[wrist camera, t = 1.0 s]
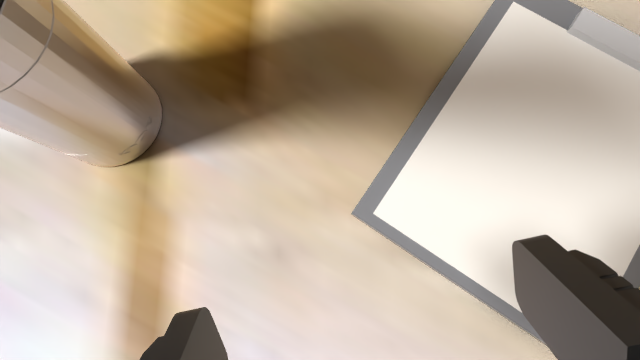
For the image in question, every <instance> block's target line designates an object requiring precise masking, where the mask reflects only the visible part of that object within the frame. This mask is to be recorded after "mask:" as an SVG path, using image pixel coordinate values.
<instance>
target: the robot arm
mask: <svg viewBox="0 0 640 360" xmlns="http://www.w3.org/2000/svg"><path fill="white" fill-rule="evenodd" d="M161 120H162V107H161V103H160V100H159V97H158V95H157V93H156V92H155V90H154V89H153V88H152V87H151V86H150V84H149V83H148V82H147V81H146V80H145V79H144V78H142V77H141V76H140V75H139V74H138V73H137V72H136V71H135V70H134V69H133V68H132V67H131V66H130V65H129V64H128V63H127V62H126V61H125V60H124V59H123V58H122V57H121V56H120V55H119V54H118V53H117V52H116V51H115V50H114V49H113V48H112V47H111V46H110V45H109V44H108V43H107V42H106V41H105V40H104V39H103V38H102V37H101V36H100V35H98V34H97V33H96V32H95V31H94V30H93V29H92V28H91V27H90V26H89V25H88V24H87V23H86V22H85V21H84V20H83V19H82V18H81V17H80V16H79V15H78V14H77V13H76V12H75V11H74V10H73V9H72V8H71V7H70V6H69V5H68V4H67V3H66V2H64V1H63V0H0V128H2V129H5V130H7V131H10V132H12V133H15V134H17V135H20V136H22V137H25V138H27V139H30V140H32V141H35V142H37V143H39V144H42V145H44V146H47V147H49V148H52V149H54V150H57V151H59V152H61V153H64V154H66V155H69V156H71V157H74V158H76V159H79V160H81V161H84V162H86V163H89V164H91V165H95V166H100V167H114V166H118V165H122V164H125V163H128V162H130V161H132V160H134V159H136V158H137V157H138V156H140V155H141V154H143V153H144V152H145V151H146V150H147V149H148V148H149V147H150V145H151V144H152V142H153V141H154V139H155V138H156V136H157V134H158V131H159V129H160V126H161ZM512 258H513V271H514V285H515V294H516V299H517V302H518V304H519V307H520V309H521V311H522V313H523V315H524V316H525V318H526V319H527V320H528V322H529V323H530V324H531V325H532V327H533V328H534V329H535V331H536V332H537V333H538V334H539V336H540V337H541V338H542V340H543V341H544V342H545V344H546V345H547V346H548V347H549V349H550V350H551V351H552V353H553V354H554V355H555V356H556V358H557V359H558V360H640V290H639V289H638V288H634V287H633V284H631V283H630V282H629V281H627V280H626V279H625V278H623V277H622V276H618V274H617V272H615V271H614V270H613V269H612V268H610V267H609V266H608V265H606V264H605V263H604V262H602V261H601V260H600V259H598V258H595V257H593V256H590V255H588V254H585V253H583V252H581V251H578V250H576V249H575V250H570V251H567V250H566V249H564V248H563V247H562V246H561V245H560V244H558V243H557V242H556V241H555V240H554V239H552V238H551V237H550V236H548V235H540V236H535V237H531V238H526V239H521V240H517V241H514V242H513V244H512ZM140 360H228V357H227V352H226V350H225V347H224V345H223V342H222V340H221V337H220V335H219V333H218V330H217V328H216V325H215V323H214V320H213V318H212V316H211V313H210V311H209V310H208V309H207V308H206V307H203V308H198V309H193V310H189V311H184V312H180V313H176V314H175V315H174V317H173V319H172V321H171V323H170V325H169V327H168V329H167V331H166V333H165V335H164V336H162V337H158V338H157V339H156V340H155V341H154V342H153V344H152V345H151V346H150V347H149V348H148V349H147V350H146V351H145V352H144V353H143V354H142V356H141V358H140Z"/></svg>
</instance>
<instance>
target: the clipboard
mask: <svg viewBox="0 0 640 360" xmlns="http://www.w3.org/2000/svg"><path fill="white" fill-rule="evenodd" d="M351 215H353V216H354V217H356V218H357V219H359V220H360V221H362V222H363V223H365V224H366V225H368V226H369V227H371V228H372V229H374V230H375V231H377V232H378V233H380V234H381V235H383V236H384V237H386V238H387V239H389V240H390V241H392V242H393V243H395V244H396V245H398V246H399V247H401V248H402V249H404V250H405V251H406V252H408V253H409V254H411V255H412V256H414V257H415V258H417V259H418V260H420V261H421V262H423V263H424V264H426V265H427V266H429V267H430V268H432V269H433V270H435V271H436V272H438V273H439V274H441V275H442V276H444V277H445V278H447V279H448V280H450V281H451V282H453V283H454V284H456V285H457V286H459V287H460V288H462V289H463V290H465V291H466V292H468V293H469V294H470V295H472V296H473V297H475V298H476V299H478V300H479V301H481V302H482V303H484V304H485V305H487V306H488V307H490V308H491V309H493V310H494V311H496V312H497V313H499V314H500V315H502V316H503V317H505V318H506V319H508V320H509V321H511V322H512V323H514V324H515V325H517V326H518V327H520V328H521V329H523V330H524V331H526V332H527V333H529V334H530V335H532V336H533V337H534V338H536V339H537V340H539V341H540V342H542V343H543V344H545V342H544V341H543V340H542V338H541V337H540V336H539V334H538V333H537V332H536V331H535V329H534V328H533V327H532V325H531V324H530V323H529V322H528V320H527V319H526V318H525V316H524V315H523V313H522V311H521V309H520V307H519V304H518V302H517V299H516V294H515V285H514V271H513V258H512V244H513V242H514V241H517V240H521V239H526V238H531V237H535V236H540V235H548V236H550V237H551V238H552V239H554V240H555V241H556V242H557V243H558V244H560V245H561V246H562V247H563V248H564V249H566V250H567V251H570V250H575V249H576V250H578V251H581V252H583V253H585V254H588V255H590V256H593V257H595V258H598V259H600V260H601V261H602V262H604V263H605V264H606V265H608V266H609V267H610V268H612V269H613V270H614V271H615V272H617V274H618V276H622V277H623V278H625V279H626V280H627V281H629V282H630V283H631V284H633V287H634V288H639V286H640V36H639V35H637V34H635V33H633V32H631V31H629V30H628V29H626V28H624V27H622V26H620V25H618V24H616V23H614V22H612V21H610V20H608V19H606V18H605V17H603V16H601V15H599V14H597V13H595V12H593V11H591V10H589V9H587V8H585V7H584V8H581V7H579V6H578V5H576V4H574V3H572V2H570V1H568V0H495V1H494V2H493V4H492V5H491V7H490V8H489V10H488V11H487V13H486V14H485V16H484V17H483V19H482V20H481V22H480V23H479V25H478V26H477V28H476V29H475V31H474V32H473V34H472V35H471V37H470V38H469V40H468V41H467V42H466V44H465V45H464V47H463V48H462V50H461V51H460V53H459V54H458V56H457V57H456V59H455V60H454V62H453V63H452V65H451V66H450V68H449V69H448V71H447V72H446V74H445V75H444V77H443V78H442V80H441V81H440V83H439V84H438V86H437V87H436V89H435V90H434V92H433V93H432V94H431V96H430V97H429V99H428V100H427V102H426V103H425V105H424V106H423V108H422V109H421V111H420V112H419V114H418V115H417V117H416V118H415V120H414V121H413V123H412V124H411V126H410V127H409V129H408V130H407V132H406V133H405V135H404V136H403V138H402V139H401V141H400V142H399V143H398V145H397V146H396V148H395V149H394V151H393V152H392V154H391V155H390V157H389V158H388V160H387V161H386V163H385V164H384V166H383V167H382V169H381V170H380V172H379V173H378V175H377V176H376V178H375V179H374V181H373V182H372V184H371V185H370V187H369V188H368V190H367V191H366V193H365V194H364V195H363V197H362V198H361V200H360V201H359V203H358V204H357V206H356V207H355V209H354V210H353V212H352V213H351ZM545 345H546V344H545ZM546 346H547V345H546Z"/></svg>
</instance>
